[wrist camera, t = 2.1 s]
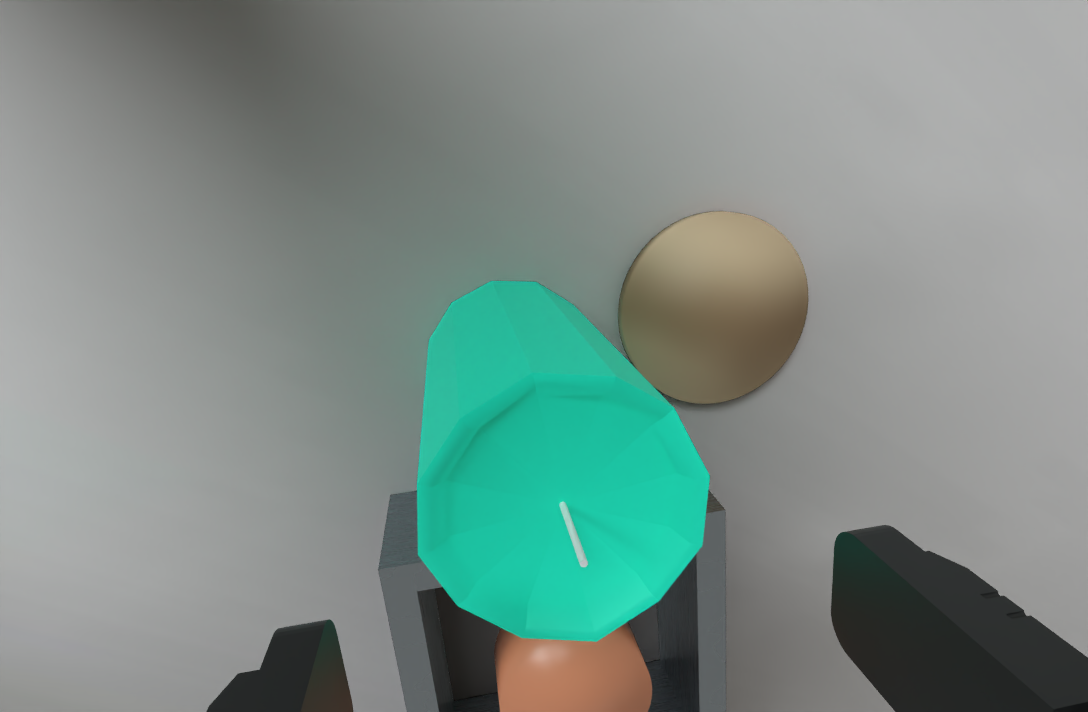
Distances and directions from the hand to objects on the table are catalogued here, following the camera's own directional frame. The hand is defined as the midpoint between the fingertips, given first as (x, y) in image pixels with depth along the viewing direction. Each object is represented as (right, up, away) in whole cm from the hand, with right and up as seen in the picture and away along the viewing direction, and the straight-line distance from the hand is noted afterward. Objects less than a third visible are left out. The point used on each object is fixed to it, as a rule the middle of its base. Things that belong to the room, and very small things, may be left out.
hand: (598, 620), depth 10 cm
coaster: (+5, +6, +13) cm, 15 cm away
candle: (-2, +4, +13) cm, 13 cm away
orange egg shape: (0, -6, +13) cm, 14 cm away
